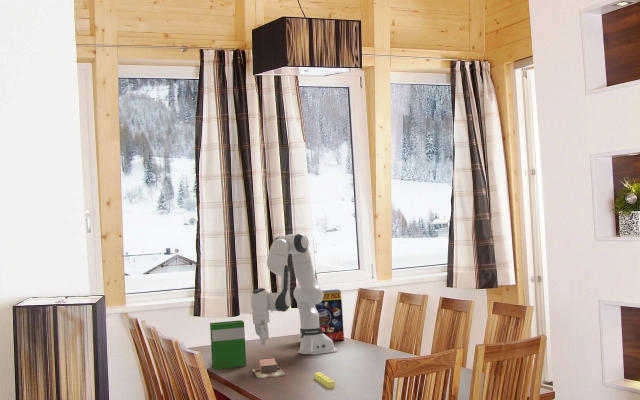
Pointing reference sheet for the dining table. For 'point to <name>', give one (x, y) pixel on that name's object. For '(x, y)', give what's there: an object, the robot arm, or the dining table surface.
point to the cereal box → (331, 314)
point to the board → (265, 375)
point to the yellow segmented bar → (324, 380)
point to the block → (267, 365)
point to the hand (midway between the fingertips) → (263, 345)
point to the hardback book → (228, 344)
